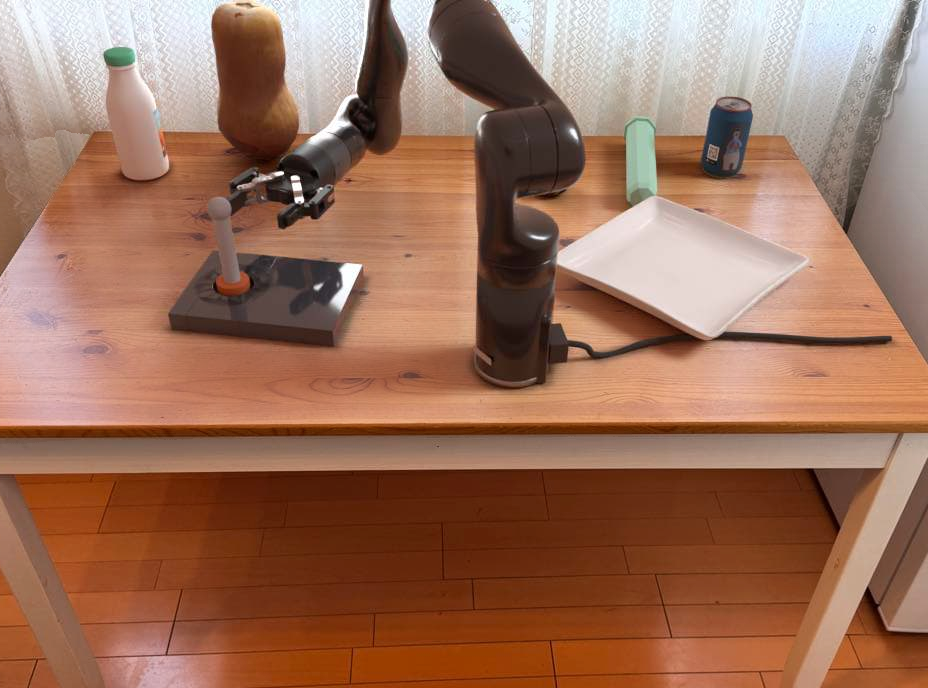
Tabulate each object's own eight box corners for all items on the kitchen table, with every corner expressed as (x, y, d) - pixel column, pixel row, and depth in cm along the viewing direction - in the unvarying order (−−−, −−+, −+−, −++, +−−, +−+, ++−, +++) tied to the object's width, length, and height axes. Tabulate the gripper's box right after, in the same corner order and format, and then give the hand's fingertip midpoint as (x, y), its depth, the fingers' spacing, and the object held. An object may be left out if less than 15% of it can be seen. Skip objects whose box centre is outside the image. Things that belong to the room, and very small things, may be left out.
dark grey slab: (364, 279, 129) (363, 264, 128) (334, 346, 117) (332, 330, 116) (215, 264, 131) (212, 249, 130) (171, 329, 119) (167, 313, 118)
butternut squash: (314, 142, 163) (299, -5, 146) (285, 175, 153) (266, 21, 137) (242, 133, 165) (219, -13, 149) (209, 165, 155) (181, 13, 139)
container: (655, 178, 141) (651, 110, 159) (618, 189, 143) (619, 121, 161) (665, 211, 144) (660, 141, 163) (628, 221, 146) (627, 150, 165)
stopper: (256, 292, 126) (240, 191, 116) (246, 309, 123) (227, 208, 113) (226, 288, 127) (207, 188, 117) (214, 306, 123) (194, 205, 113)
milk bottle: (163, 182, 150) (135, 60, 137) (116, 181, 150) (84, 59, 137) (175, 161, 156) (150, 42, 143) (130, 160, 156) (101, 41, 143)
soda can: (715, 158, 161) (728, 91, 153) (748, 171, 157) (764, 104, 149) (691, 169, 157) (703, 102, 149) (724, 184, 153) (739, 115, 145)
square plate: (708, 361, 116) (714, 336, 114) (543, 279, 130) (544, 256, 127) (808, 277, 131) (815, 254, 129) (650, 212, 145) (654, 190, 143)
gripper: (271, 133, 134) (204, 180, 123) (356, 152, 130) (295, 202, 119) (277, 180, 139) (213, 229, 128) (359, 199, 135) (301, 252, 123)
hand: (253, 216), depth 123 cm, fingers open, 8 cm apart
